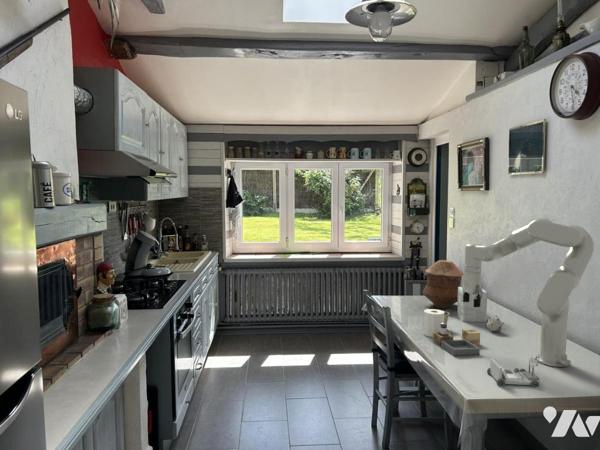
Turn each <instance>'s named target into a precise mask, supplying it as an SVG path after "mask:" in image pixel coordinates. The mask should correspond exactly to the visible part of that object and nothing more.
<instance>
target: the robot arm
mask: <svg viewBox="0 0 600 450" xmlns="http://www.w3.org/2000/svg"><path fill="white" fill-rule="evenodd" d="M541 241H542V242H545V243H547V244H548V243H549V244H553V245H556V246H560V247H564V248H568V251H567V253H566V255H565V256H564V258H563V260H562V262H561V264H560V266H559V268H557V270H555V271H553V272H552V273H551V274H550V276H549V277H548V279H547V280H546V282H545V284H544V286H543V288H542V290H541V292H540V294H539V296H538V298H537V301H536V306H537V308H538V310H539V311H540V313H541V314H542V316H541V330H540V331H541V332H540V351H539V354H537V355H536V356H535V358H536V357H538V358H537V359H536V361H537V362H538V363H539V364H543V365H545V366H550V367H557V368H565V367H568V366H570V364H571V363H572V362H571V360H569V359H568V355H567V337H568V336H567V333H568V331H567V330H568V318H569V311H570V295H571V294H572V292H573V290H575V289H576V288H577V287H578V285H579V283H580V281H581V278H582V277H583V275H584V272H585V271H586V270H587V267H588V265H589V263H590V261H591V259H592V257H593V254H594V248H595V245H594V240H593V237H592V235H591V234H590V233H589V232H588V231H587V230H586V229H585V228H584V227H582V226H580V225H575V224H574V225H569V226H568V225H564V224H559V223H555V222H553V220H550V219H548V218H545V217H544V218H536V219H534V220H531V222H529V224H526V225H524V226H522V227H520V228H518V229H516V230H513V231H512V232H511V233H510V234H509V235H508V236H506V237H505V238H503V239H501V240H499V241H497V242H495V243H492V244H488V245H481V244H480V243H479V244H478V243H468V244H466V245H465V248H464V249H465V252H464V271H463V273H464V274H463V276H462V280H461V287H462V290H463V302H469V297H470V294H473V295H474V297H475V299H474V307H480V303H481V297H482V294H483V290H484V289H483V288H482V263H483V262H486V263H487V262H489V263H490V262H493V261H495V260H499V259H501V258H504V257H506V256H508V255H511V254H513V253H515V252H517V251H521V250H523V249H525V248H527V247H530V246H531V245H534V244H536V243H538V242H541ZM481 288H482V289H483V290H482V289H481ZM477 294H478V295H477ZM476 295H477V296H476Z"/></svg>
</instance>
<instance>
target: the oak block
mask: <svg viewBox="0 0 600 450" xmlns="http://www.w3.org/2000/svg"><path fill="white" fill-rule="evenodd" d="M461 340H467V341H469V342H470V343H472V344H473V345H475V346H478V345H481V332H480V331H478V330H476V329H474V328H465V329H464V328H463V329H461Z"/></svg>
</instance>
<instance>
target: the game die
mask: <svg viewBox="0 0 600 450" xmlns="http://www.w3.org/2000/svg"><path fill="white" fill-rule="evenodd" d="M487 316H488V315H487ZM503 324H504V322H502V321H501V320H500V318H499V317H497V315H495V317H493V316H492V317H491V316H488V319H487V321H486V324H484V326H486V327H487V328H488V329H489V331H491V333H494V332H501V329H502V328H501V327H502V326H503Z"/></svg>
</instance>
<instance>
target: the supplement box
mask: <svg viewBox="0 0 600 450" xmlns="http://www.w3.org/2000/svg"><path fill="white" fill-rule="evenodd" d="M481 289H482V290H483V294H482V297H481V303H480V307H474V299H475V297H474V295H473V294H470V297H469V302H463V290H462V286H460V287H458V302H457V308H456V309H457V311H456V313H457V314H456V316H458V318H459V319H460V320H461V321H462V322H469V323H471V322H472V323H474V322H475V323H487V316H488V315H487V310H488V309H487V308H488V307H487V306H488V292H487V291H486V290H484V289H483V288H482V287H481ZM477 295H478V294H477ZM477 295H476V296H477Z"/></svg>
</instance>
